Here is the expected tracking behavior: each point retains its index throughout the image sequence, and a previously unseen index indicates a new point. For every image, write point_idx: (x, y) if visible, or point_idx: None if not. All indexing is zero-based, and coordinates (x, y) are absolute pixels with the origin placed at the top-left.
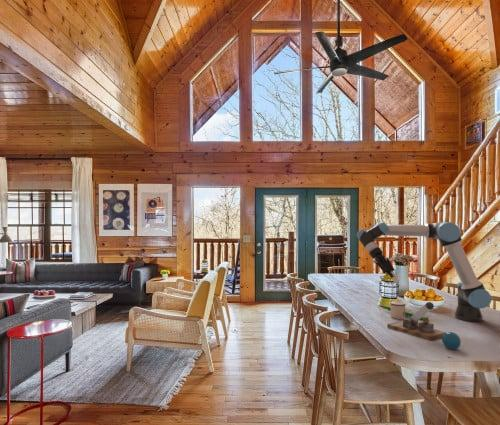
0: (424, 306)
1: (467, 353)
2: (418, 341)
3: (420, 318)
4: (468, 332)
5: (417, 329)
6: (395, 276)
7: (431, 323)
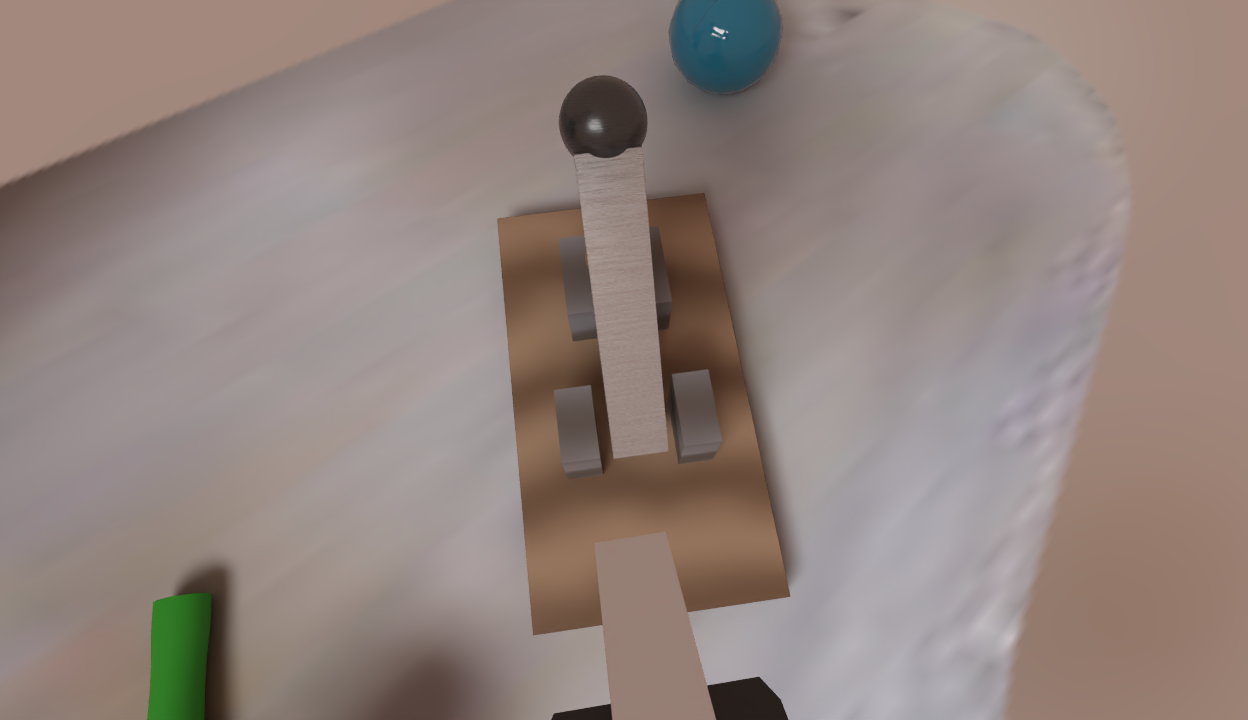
0: (641, 164)
1: None
2: (808, 233)
3: (205, 662)
4: (257, 222)
5: None
6: (668, 634)
7: (569, 249)
